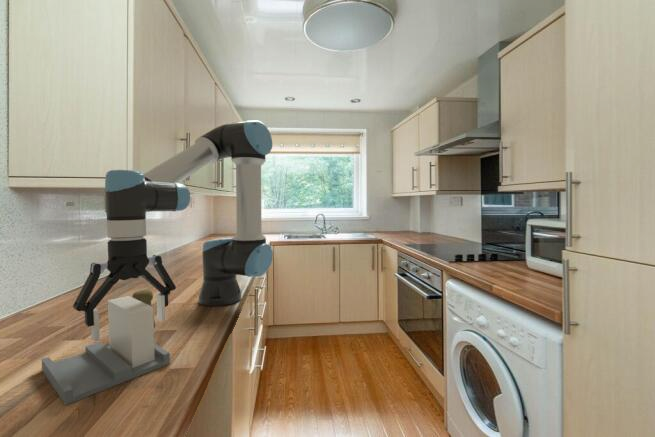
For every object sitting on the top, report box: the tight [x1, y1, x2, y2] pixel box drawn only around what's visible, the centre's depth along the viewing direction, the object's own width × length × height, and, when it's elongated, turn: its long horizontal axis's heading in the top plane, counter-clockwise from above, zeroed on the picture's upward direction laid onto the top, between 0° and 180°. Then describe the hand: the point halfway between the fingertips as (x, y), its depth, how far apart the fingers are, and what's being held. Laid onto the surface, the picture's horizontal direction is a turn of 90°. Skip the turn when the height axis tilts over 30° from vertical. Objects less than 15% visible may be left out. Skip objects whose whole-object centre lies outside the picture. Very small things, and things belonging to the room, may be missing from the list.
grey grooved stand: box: [41, 341, 171, 406], centre depth 68 cm, size 18×19×2 cm
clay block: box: [107, 295, 155, 368], centre depth 72 cm, size 4×14×12 cm, turn 52°
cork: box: [131, 289, 156, 329], centre depth 90 cm, size 6×6×11 cm
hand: (130, 329), depth 72 cm, fingers open, 13 cm apart
